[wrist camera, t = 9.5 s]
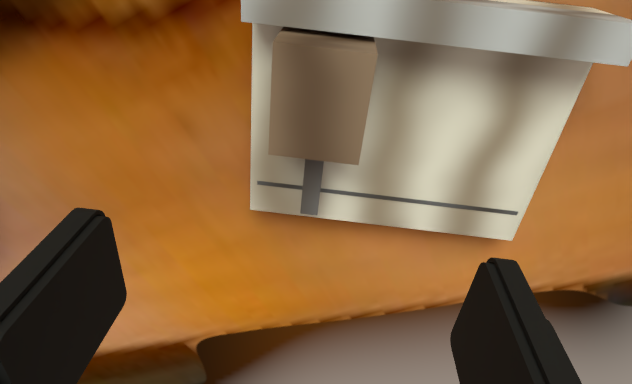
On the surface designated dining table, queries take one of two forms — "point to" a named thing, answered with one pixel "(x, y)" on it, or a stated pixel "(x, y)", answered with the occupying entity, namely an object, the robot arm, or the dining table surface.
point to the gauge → (319, 101)
